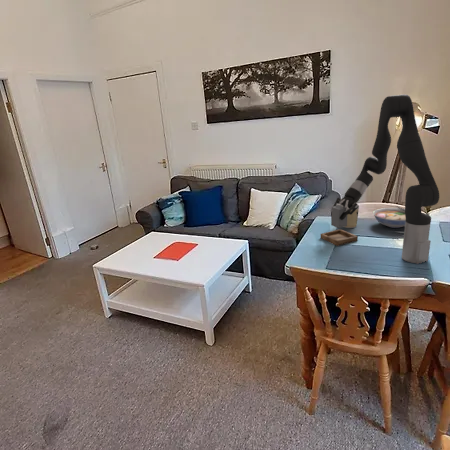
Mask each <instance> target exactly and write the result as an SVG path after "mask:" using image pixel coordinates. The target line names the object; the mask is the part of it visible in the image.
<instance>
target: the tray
mask: <svg viewBox="0 0 450 450" xmlns="http://www.w3.org/2000/svg"><path fill="white" fill-rule="evenodd" d="M358 237H359V236H358V235H356V234H354V233H351V232H349V231H346V230H343V229H341V228H337V229H335V230H331V231H327V232H324V233H320V239H321V240H323V241H326V242H328V243H330V244H332V245H334V246H336V247H340V246H343V245H348V244H350V243H354V242H358V241H359V239H358Z"/></svg>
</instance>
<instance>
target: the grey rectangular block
mask: <svg viewBox="0 0 450 450" xmlns="http://www.w3.org/2000/svg"><path fill="white" fill-rule="evenodd" d="M338 205H339V206H338ZM333 206H334V205H333ZM333 206H331V214H332V215H331V214H330V215H331V216H330V217H331V218H330V220H331V221H330V225H331V227H335V228H337V229H341V228H346V227H345V226H347V216H348V215H347V216H346V217H345V218H344V219H343V220H341V219H340V218H339V217H340V216H341V215H342V213H343V212H344V210H345V209H346V208H345V206H343V205H340V204H336V206H334V207H333ZM347 211H348V210H347Z"/></svg>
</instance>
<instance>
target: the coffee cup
mask: <svg viewBox="0 0 450 450" xmlns="http://www.w3.org/2000/svg"><path fill="white" fill-rule="evenodd" d="M359 209H360V206H359V207H358V208H357V209H356V210H355V211H354V212H353V213H352V214H351V215H350V214H348V216H347V226H345V227H344V228H347V229H353V228H357V225H358V219H359V218H358V217H359ZM351 211H352V210H351Z"/></svg>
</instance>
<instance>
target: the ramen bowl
mask: <svg viewBox="0 0 450 450" xmlns="http://www.w3.org/2000/svg"><path fill="white" fill-rule="evenodd" d="M372 214H373V216H374V218H375V220H377V222H378V223H380V224H381V225H383V226H385V227H386V226H387V227H388V228H393V229H399V228H400V229H401V228H402V227H404V228H405V221H406V217H405V208H402V207H400V206H398V205H396V206H395V207H383V208H378V209H374V211H373V212H372Z"/></svg>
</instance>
